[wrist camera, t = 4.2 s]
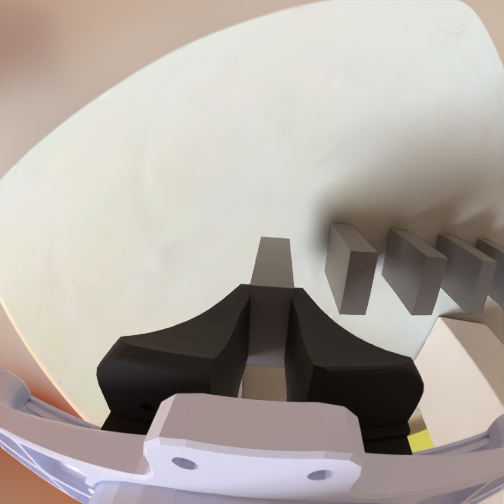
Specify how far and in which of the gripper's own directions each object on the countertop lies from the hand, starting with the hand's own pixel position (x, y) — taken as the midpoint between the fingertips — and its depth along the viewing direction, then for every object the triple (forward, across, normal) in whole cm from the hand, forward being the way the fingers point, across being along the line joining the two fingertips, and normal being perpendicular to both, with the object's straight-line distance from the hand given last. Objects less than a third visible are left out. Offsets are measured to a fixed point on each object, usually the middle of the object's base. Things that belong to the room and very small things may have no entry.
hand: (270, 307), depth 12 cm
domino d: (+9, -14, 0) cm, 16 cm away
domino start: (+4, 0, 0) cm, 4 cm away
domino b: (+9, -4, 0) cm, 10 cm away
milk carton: (+9, -18, +10) cm, 22 cm away
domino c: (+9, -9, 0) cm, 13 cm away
